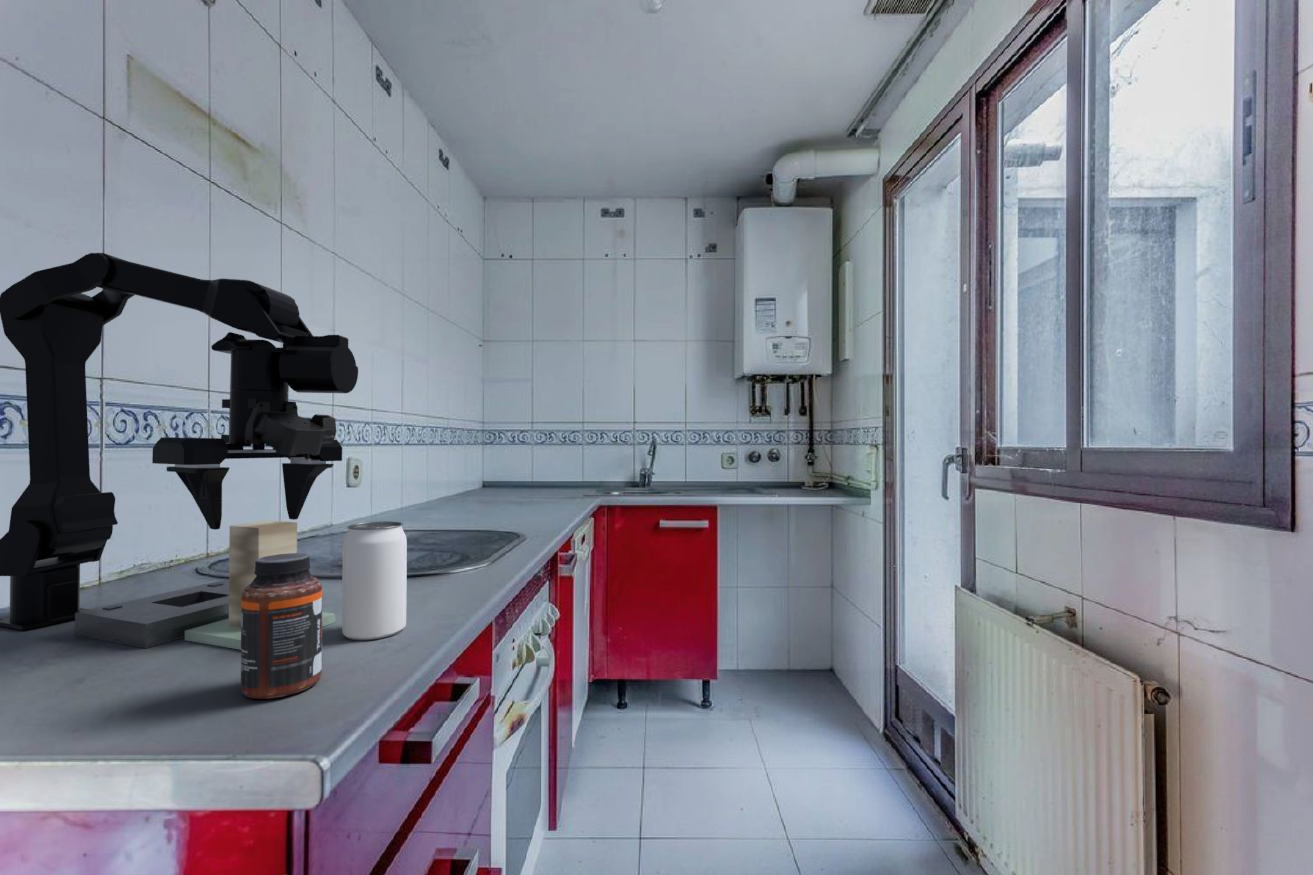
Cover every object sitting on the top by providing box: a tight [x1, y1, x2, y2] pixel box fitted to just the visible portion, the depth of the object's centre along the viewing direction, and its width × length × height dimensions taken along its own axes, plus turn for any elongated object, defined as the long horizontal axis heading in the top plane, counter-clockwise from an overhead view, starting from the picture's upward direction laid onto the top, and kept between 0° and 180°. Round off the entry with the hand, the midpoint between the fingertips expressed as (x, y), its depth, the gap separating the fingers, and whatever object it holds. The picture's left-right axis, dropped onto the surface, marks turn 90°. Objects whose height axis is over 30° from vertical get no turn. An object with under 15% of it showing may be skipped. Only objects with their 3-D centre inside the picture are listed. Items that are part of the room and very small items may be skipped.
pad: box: [184, 611, 336, 651], centre depth 65 cm, size 10×10×1 cm
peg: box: [228, 520, 298, 628], centre depth 65 cm, size 4×4×11 cm
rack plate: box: [74, 579, 229, 649], centre depth 69 cm, size 12×16×3 cm
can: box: [341, 520, 408, 642], centre depth 64 cm, size 6×6×12 cm
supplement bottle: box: [240, 552, 323, 700], centre depth 50 cm, size 6×6×11 cm
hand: (256, 523), depth 68 cm, fingers open, 9 cm apart
